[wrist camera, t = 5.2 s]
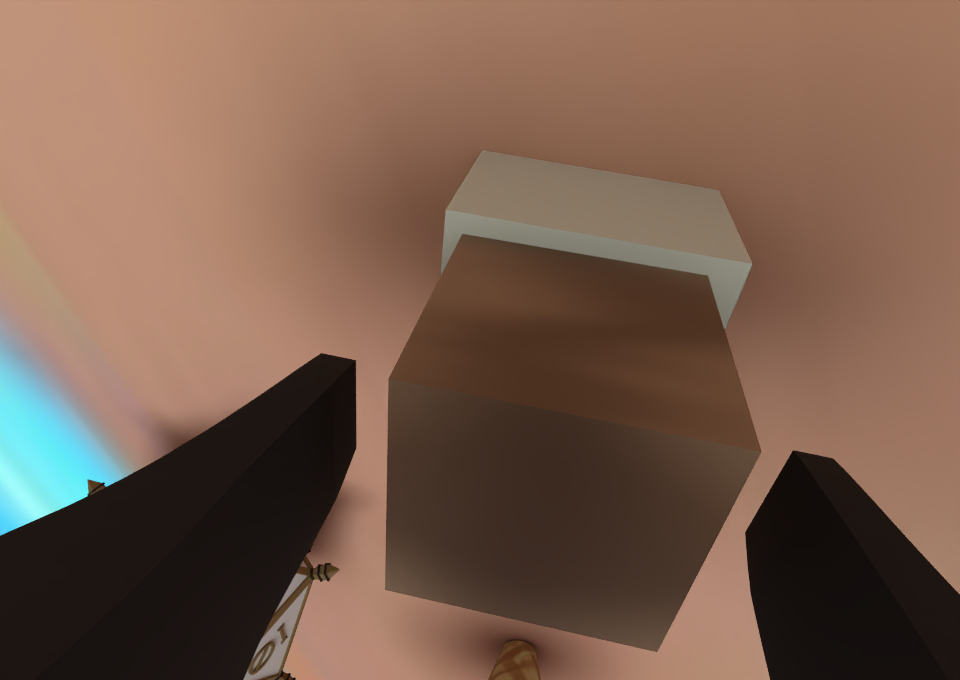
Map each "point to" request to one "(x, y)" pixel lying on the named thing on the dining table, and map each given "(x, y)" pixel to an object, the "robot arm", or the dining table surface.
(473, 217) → the base block
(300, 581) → the game die
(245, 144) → the dining table surface
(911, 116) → the dining table surface
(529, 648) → the ice cream cone
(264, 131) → the dining table surface
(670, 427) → the walnut cube
